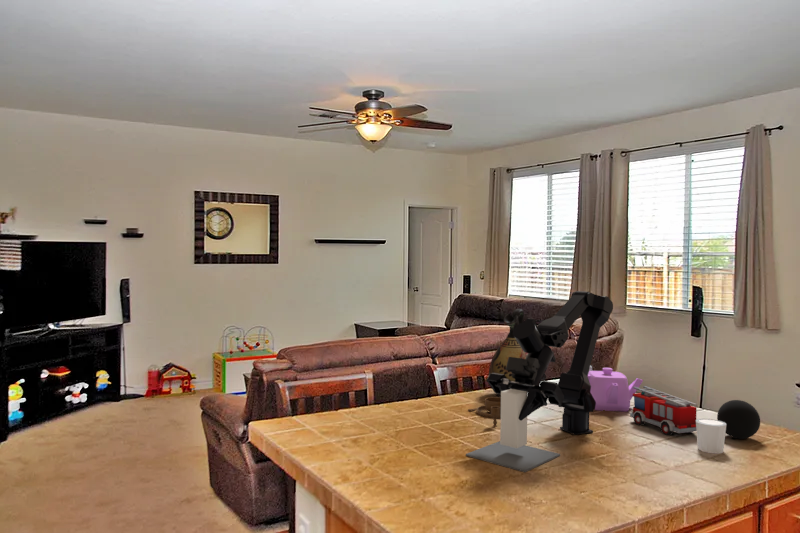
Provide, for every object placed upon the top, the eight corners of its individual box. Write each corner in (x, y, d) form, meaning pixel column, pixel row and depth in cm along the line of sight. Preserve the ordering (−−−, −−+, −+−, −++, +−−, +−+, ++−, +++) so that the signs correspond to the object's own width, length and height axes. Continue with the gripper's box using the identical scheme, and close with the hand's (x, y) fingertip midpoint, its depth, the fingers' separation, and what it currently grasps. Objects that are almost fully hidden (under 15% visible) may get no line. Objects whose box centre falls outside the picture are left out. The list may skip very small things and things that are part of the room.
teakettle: (599, 398, 206) (599, 362, 206) (645, 407, 193) (646, 369, 193) (568, 404, 196) (569, 366, 196) (615, 415, 182) (616, 375, 182)
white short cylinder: (723, 447, 151) (723, 419, 151) (728, 455, 145) (729, 426, 145) (693, 444, 153) (693, 417, 153) (697, 452, 147) (697, 423, 147)
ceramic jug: (524, 403, 197) (526, 311, 196) (481, 396, 205) (482, 309, 205) (542, 393, 211) (543, 308, 211) (500, 388, 219) (502, 306, 219)
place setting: (532, 416, 181) (532, 397, 181) (498, 430, 166) (498, 409, 166) (482, 407, 193) (483, 388, 192) (446, 419, 177) (447, 399, 177)
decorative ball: (717, 430, 167) (718, 394, 167) (759, 436, 162) (760, 399, 162) (716, 439, 158) (716, 401, 158) (760, 445, 153) (761, 406, 153)
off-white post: (510, 440, 146) (511, 388, 146) (526, 444, 143) (527, 391, 143) (500, 444, 142) (500, 391, 142) (516, 448, 139) (517, 394, 139)
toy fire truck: (650, 419, 179) (651, 385, 179) (702, 436, 161) (703, 399, 161) (626, 421, 176) (627, 387, 176) (676, 439, 158) (677, 401, 158)
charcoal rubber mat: (503, 441, 154) (503, 439, 154) (560, 455, 143) (560, 453, 143) (465, 455, 142) (465, 453, 142) (525, 472, 131) (525, 470, 131)
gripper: (491, 340, 152) (464, 391, 144) (558, 348, 139) (533, 404, 131) (507, 367, 157) (483, 417, 149) (574, 377, 145) (551, 432, 137)
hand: (510, 417), depth 142 cm, fingers closed on off-white post, 4 cm apart
